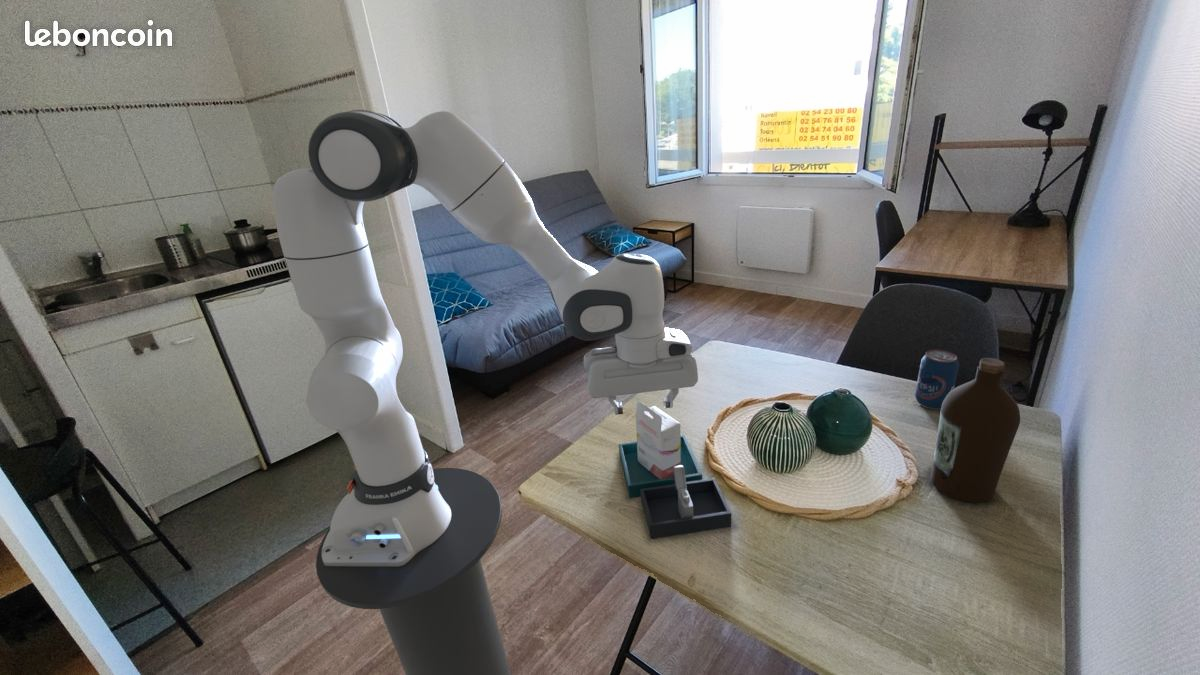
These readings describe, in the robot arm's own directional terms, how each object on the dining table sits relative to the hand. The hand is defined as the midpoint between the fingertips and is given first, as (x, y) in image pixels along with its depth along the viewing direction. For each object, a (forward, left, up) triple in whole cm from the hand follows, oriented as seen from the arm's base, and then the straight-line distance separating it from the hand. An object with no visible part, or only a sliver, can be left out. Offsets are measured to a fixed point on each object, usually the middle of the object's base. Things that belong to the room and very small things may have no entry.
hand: (643, 409), depth 95 cm
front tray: (+4, -12, -15) cm, 20 cm away
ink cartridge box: (+2, +1, -15) cm, 15 cm away
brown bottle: (+54, -15, -16) cm, 58 cm away
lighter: (+4, -12, -15) cm, 20 cm away
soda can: (+67, +10, -16) cm, 70 cm away
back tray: (+2, +1, -15) cm, 15 cm away
